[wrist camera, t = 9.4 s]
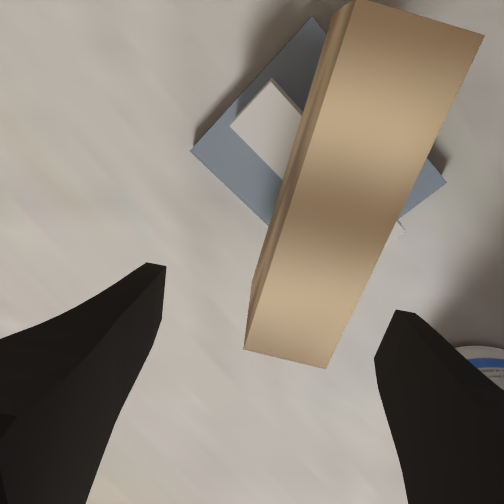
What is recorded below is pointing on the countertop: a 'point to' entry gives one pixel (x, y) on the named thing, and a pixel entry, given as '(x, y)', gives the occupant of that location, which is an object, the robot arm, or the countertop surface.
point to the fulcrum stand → (278, 131)
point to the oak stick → (351, 172)
